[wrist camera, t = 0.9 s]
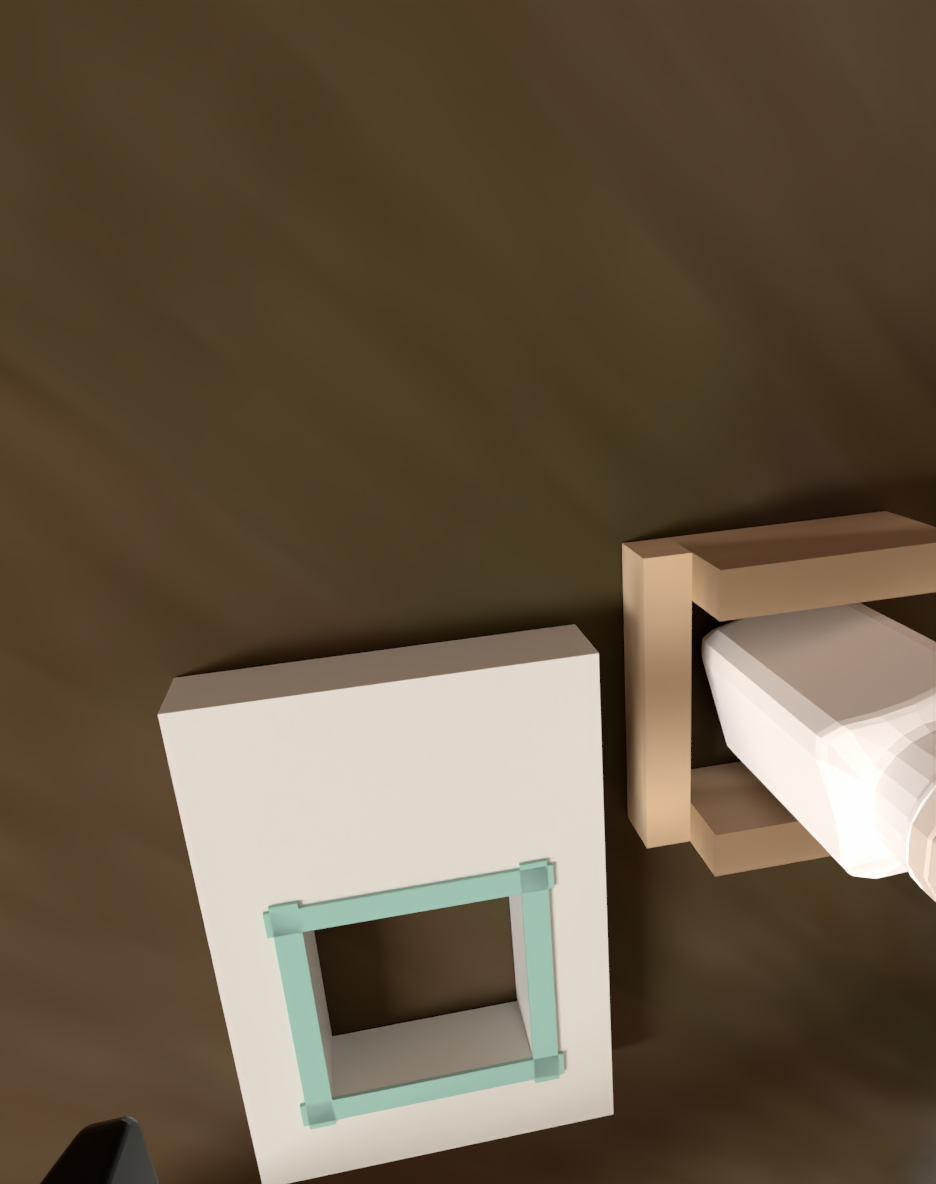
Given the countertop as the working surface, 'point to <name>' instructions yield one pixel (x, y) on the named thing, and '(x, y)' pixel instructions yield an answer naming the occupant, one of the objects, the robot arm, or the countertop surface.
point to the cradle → (727, 592)
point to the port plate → (401, 884)
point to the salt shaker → (837, 729)
